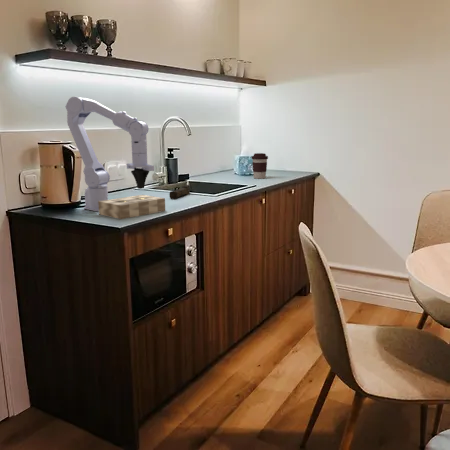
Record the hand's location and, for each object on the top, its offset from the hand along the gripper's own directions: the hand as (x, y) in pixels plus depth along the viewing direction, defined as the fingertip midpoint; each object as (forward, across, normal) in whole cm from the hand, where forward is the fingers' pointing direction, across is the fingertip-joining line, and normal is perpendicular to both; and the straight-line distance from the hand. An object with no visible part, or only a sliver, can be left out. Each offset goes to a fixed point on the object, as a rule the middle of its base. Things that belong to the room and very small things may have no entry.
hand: (140, 188), depth 183 cm
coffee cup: (+9, -31, +114) cm, 119 cm away
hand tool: (+9, -17, +36) cm, 41 cm away
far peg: (+8, 0, 0) cm, 9 cm away
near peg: (+8, 0, -9) cm, 12 cm away
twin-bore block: (+9, 0, -4) cm, 10 cm away
